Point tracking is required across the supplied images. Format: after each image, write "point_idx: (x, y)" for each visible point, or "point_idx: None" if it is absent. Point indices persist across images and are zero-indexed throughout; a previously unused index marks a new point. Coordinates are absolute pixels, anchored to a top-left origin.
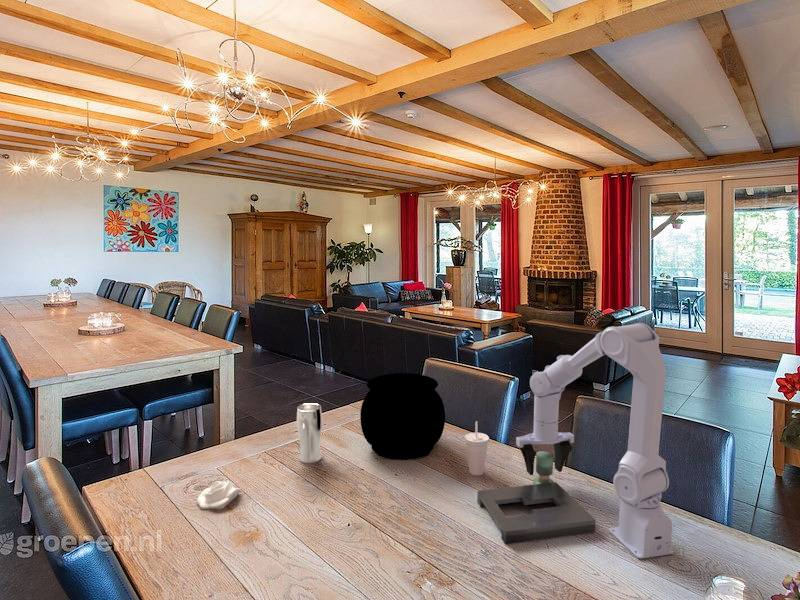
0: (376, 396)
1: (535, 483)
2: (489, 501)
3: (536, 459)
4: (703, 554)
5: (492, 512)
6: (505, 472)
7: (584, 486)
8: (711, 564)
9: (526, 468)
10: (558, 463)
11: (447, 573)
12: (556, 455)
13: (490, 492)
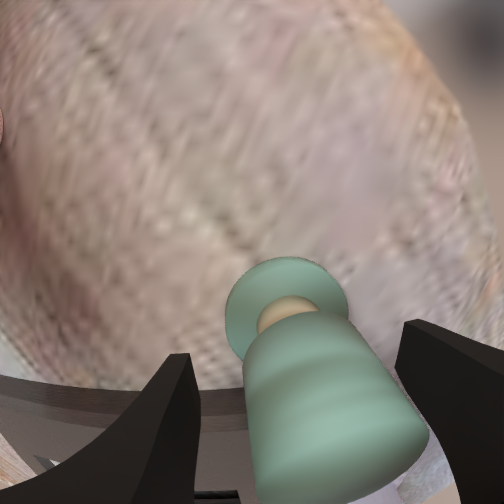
0: None
1: (228, 340)
2: (21, 450)
3: (252, 445)
4: (417, 489)
5: None
6: (102, 129)
7: (447, 323)
8: (405, 500)
9: (161, 366)
10: (425, 387)
11: None
12: (467, 383)
13: (10, 420)
